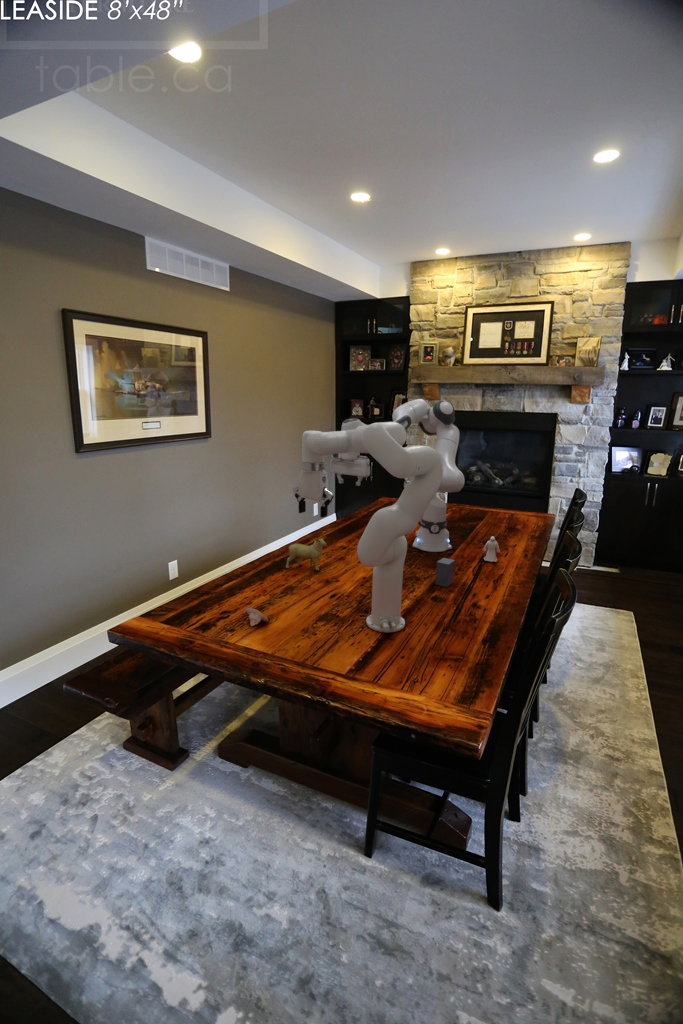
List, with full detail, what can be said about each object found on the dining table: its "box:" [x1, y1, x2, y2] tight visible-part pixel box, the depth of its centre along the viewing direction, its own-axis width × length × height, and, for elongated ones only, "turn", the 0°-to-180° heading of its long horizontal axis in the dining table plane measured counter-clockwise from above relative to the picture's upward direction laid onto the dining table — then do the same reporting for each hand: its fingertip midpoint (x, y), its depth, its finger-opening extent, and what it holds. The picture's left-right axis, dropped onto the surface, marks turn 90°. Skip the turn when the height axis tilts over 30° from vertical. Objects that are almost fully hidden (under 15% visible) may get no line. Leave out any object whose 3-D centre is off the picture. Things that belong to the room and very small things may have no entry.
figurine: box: [482, 535, 501, 563], centre depth 223 cm, size 8×8×12 cm
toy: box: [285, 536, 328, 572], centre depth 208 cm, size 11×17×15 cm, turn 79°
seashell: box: [245, 607, 269, 627], centre depth 160 cm, size 8×5×8 cm
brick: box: [434, 557, 456, 588], centre depth 197 cm, size 5×6×9 cm
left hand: (312, 514), depth 177 cm, fingers open, 9 cm apart
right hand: (349, 484), depth 231 cm, fingers open, 8 cm apart
